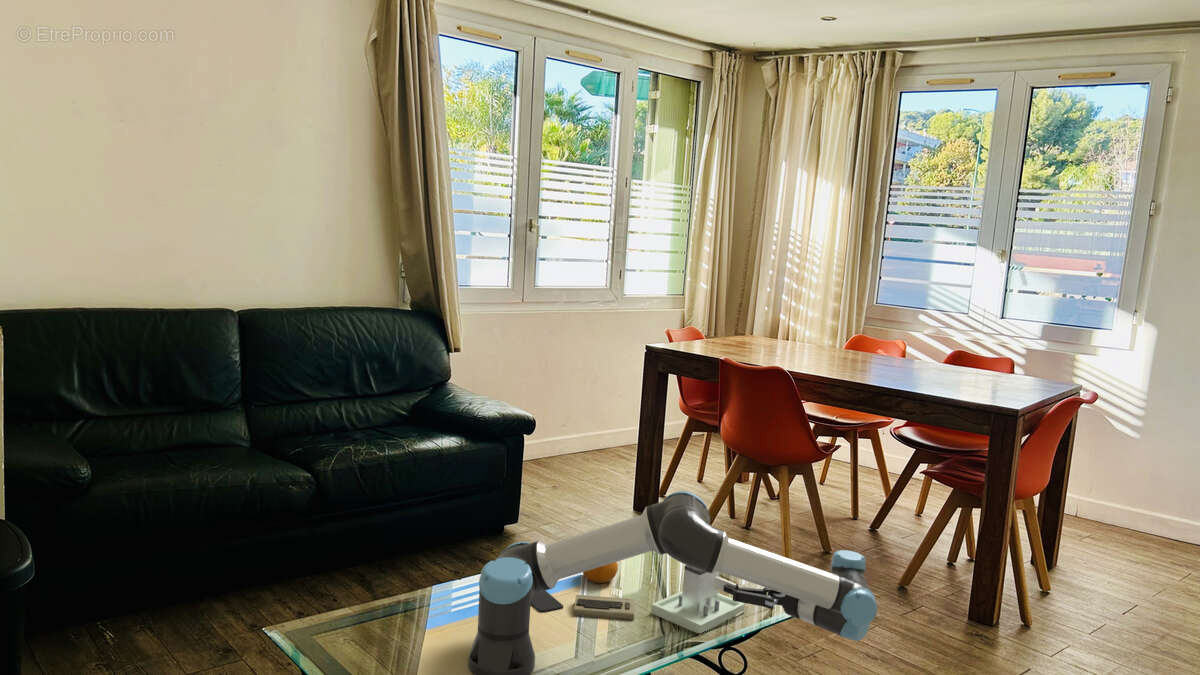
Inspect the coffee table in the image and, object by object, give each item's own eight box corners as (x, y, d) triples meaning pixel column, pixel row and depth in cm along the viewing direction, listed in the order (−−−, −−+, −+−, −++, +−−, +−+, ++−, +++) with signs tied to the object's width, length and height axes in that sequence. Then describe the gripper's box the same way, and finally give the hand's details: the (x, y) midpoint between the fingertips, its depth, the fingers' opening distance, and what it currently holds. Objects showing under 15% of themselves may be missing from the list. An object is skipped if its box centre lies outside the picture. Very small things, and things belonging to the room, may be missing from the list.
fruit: (619, 574, 258) (620, 548, 257) (614, 589, 247) (616, 561, 246) (583, 570, 259) (585, 544, 258) (577, 584, 249) (579, 557, 248)
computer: (573, 617, 229) (573, 605, 228) (575, 604, 237) (576, 592, 236) (633, 622, 228) (634, 610, 228) (633, 608, 236) (634, 597, 236)
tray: (700, 634, 222) (701, 619, 222) (651, 613, 233) (652, 598, 233) (744, 612, 237) (745, 598, 237) (696, 593, 248) (697, 579, 247)
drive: (696, 615, 230) (700, 571, 228) (681, 609, 233) (684, 565, 232) (716, 606, 236) (720, 563, 235) (701, 599, 240) (704, 557, 238)
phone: (539, 585, 245) (565, 606, 233) (539, 588, 246) (564, 609, 233) (515, 589, 242) (540, 611, 229) (515, 592, 242) (539, 614, 229)
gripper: (775, 634, 202) (700, 602, 216) (827, 605, 221) (755, 577, 235) (779, 603, 201) (703, 573, 215) (831, 576, 220) (758, 550, 234)
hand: (730, 575), depth 225 cm, fingers open, 13 cm apart
